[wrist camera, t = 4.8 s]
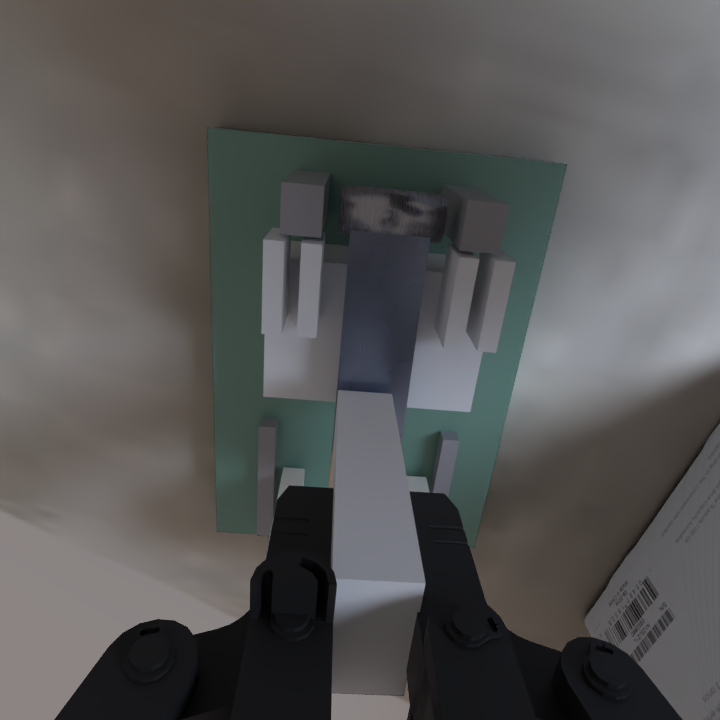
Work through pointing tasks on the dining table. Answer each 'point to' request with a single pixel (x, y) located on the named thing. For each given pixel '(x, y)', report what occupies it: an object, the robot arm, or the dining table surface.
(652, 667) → the hard drive box
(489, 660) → the robot arm
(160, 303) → the dining table surface
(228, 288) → the board
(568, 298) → the dining table surface
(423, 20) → the dining table surface
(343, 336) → the grey rectangular bar
